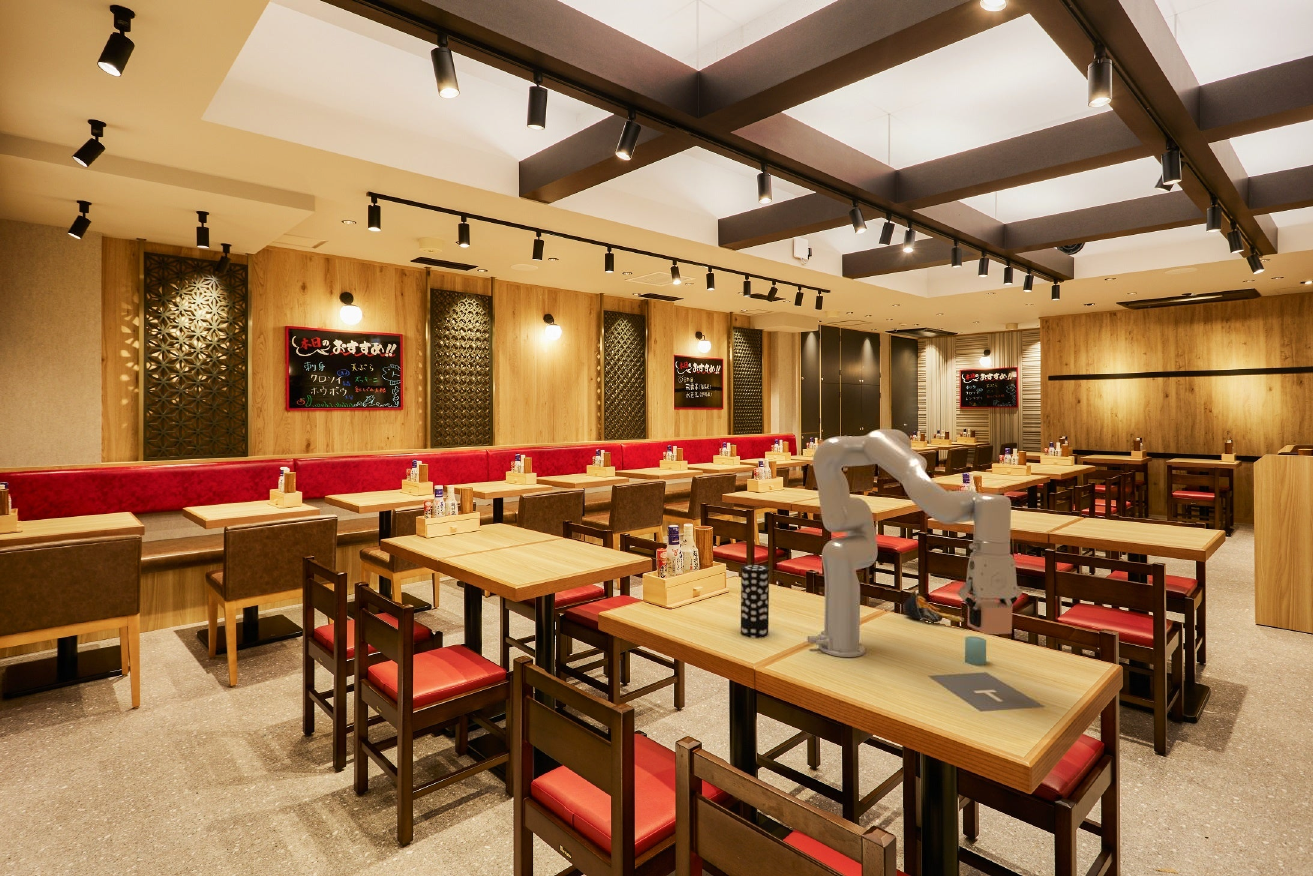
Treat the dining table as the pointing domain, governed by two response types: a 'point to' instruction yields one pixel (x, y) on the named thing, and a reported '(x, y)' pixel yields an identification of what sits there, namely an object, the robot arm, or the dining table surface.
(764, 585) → the spotted tube
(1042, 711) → the dining table surface
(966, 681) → the board
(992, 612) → the block
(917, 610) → the black and orange piece
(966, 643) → the cylinder
